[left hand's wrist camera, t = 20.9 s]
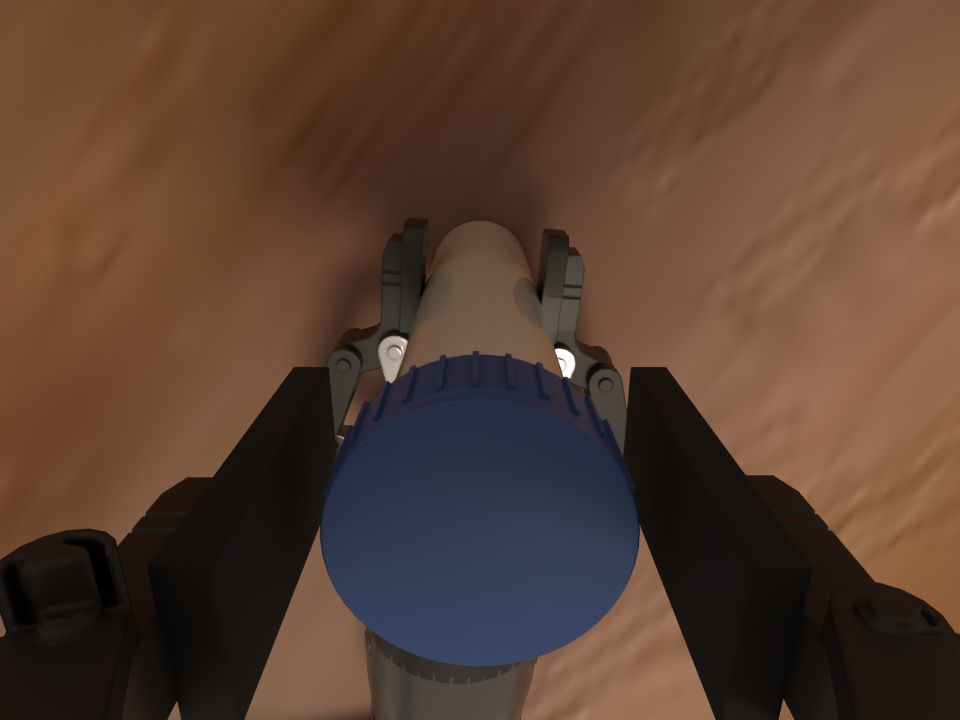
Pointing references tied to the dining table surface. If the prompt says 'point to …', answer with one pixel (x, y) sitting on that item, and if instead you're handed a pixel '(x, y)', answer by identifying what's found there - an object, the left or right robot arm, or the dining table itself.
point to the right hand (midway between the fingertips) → (487, 229)
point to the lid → (479, 512)
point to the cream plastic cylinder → (479, 302)
